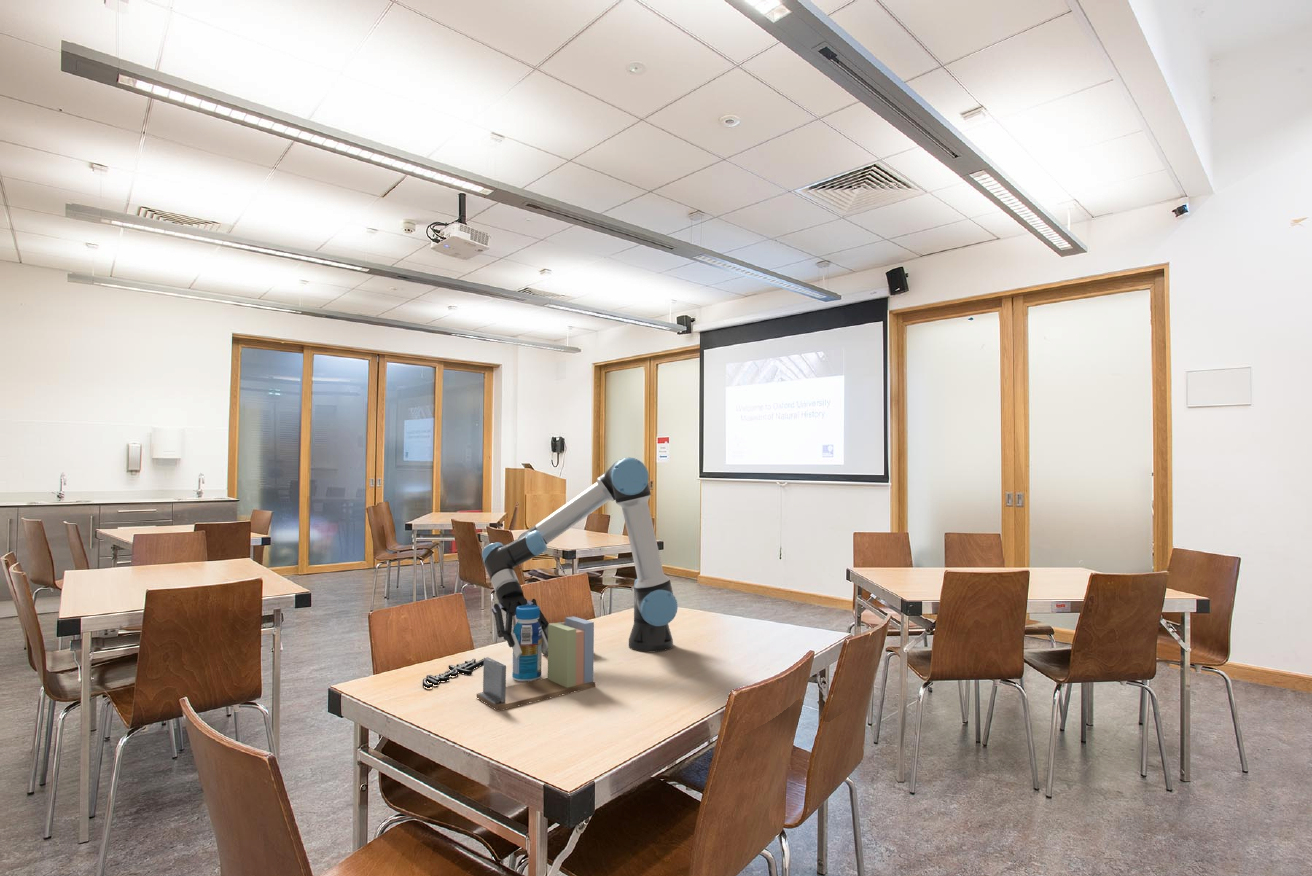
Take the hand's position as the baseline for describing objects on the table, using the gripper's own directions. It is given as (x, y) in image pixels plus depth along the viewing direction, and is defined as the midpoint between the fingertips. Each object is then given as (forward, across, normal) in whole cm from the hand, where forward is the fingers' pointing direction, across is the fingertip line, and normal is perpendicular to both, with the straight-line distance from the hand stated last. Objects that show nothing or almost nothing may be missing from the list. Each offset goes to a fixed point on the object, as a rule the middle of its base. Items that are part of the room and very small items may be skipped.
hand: (533, 652), depth 181 cm
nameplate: (-8, +15, -20) cm, 26 cm away
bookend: (+11, +17, +2) cm, 21 cm away
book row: (+11, -6, +2) cm, 13 cm away
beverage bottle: (+3, 0, -8) cm, 9 cm away
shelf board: (+12, +4, +1) cm, 13 cm away
